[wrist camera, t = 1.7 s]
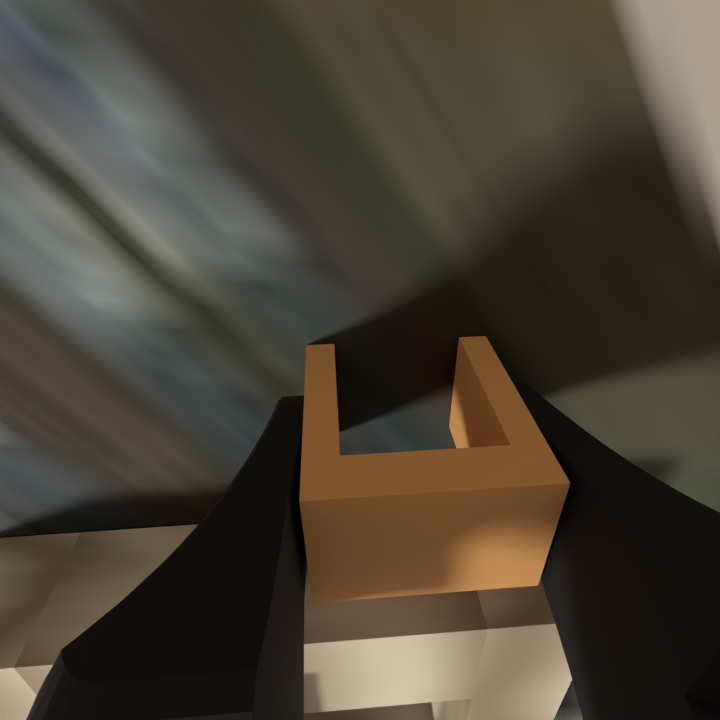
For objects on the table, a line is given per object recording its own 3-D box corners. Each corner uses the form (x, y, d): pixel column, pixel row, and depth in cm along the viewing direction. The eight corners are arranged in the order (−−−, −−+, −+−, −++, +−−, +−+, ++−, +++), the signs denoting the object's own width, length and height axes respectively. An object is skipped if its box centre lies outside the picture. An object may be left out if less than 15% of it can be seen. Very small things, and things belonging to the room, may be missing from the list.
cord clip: (485, 335, 12) (570, 483, 8) (473, 424, 14) (537, 585, 10) (306, 345, 12) (299, 501, 8) (315, 434, 14) (312, 602, 10)
